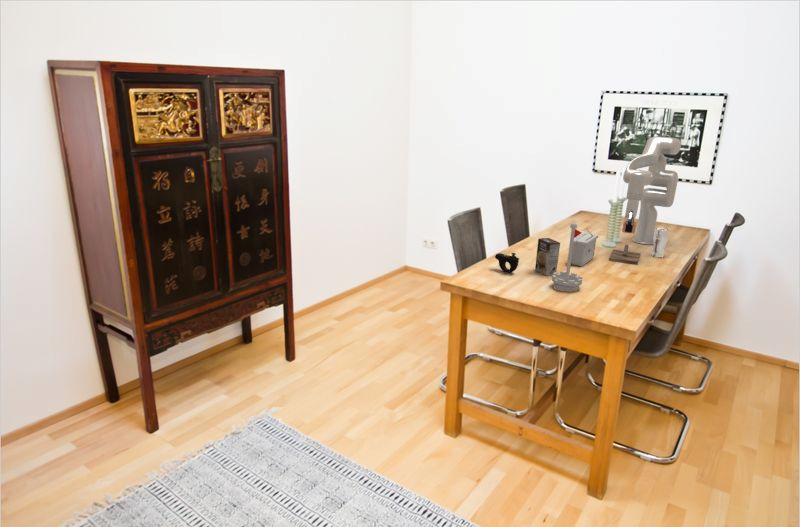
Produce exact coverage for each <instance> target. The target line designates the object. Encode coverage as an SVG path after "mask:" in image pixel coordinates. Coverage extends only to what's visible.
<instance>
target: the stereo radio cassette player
mask: <svg viewBox="0 0 800 527" xmlns="http://www.w3.org/2000/svg"><path fill="white" fill-rule="evenodd" d="M585 230H587V232H586V231H585V232H582V233H581V234H580V235H578V236H577V237H575V238H574V242H573V250H572V258H571V264H572V265H571V266H577V267H578V266H579V267H581V266H582V267H583V266H584V265H586V264H587V263H588V262H590V261H591V260H592V259H594V256H595V250H596V243H597V239H598V238H599V234H597V233H591V232H590V230H589V229H588V228H587V227H585Z"/></svg>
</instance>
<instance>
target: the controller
mask: <svg viewBox="0 0 800 527" xmlns="http://www.w3.org/2000/svg"><path fill="white" fill-rule="evenodd" d="M516 255H517V253H516V252H512V253H511V255H509V254H505V253H501V252H500V253H497V254H495V256H494V258H495V259H496V260H497V261H498V266H499V268H500V270H502V272H504V273H508V274H509V273H513V272H515V271H516V270H517V269H518V266H519V263H520V262H519V260H520V257H517V256H516ZM507 263H508V264H509V268H508V267H507Z"/></svg>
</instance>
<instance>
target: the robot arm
mask: <svg viewBox="0 0 800 527" xmlns="http://www.w3.org/2000/svg"><path fill="white" fill-rule="evenodd" d="M681 145H682V142H681V140H680V139H679V138H675V137H670V136H669V137H668V136H652V137H650V138H648V139H647V140H646V144H645V146H644V149H643V151H642V152H641V155H639V156H637V157H635V158H634V159H632V160H631V161H629V162H628V163H627V166H626V167H625V170H624V171H623V172H624V173H623V176H622V179H623V181H624V183H625V184H628V186H627V192H626V196H625V197H626V198H625V199H626V200H627V204H626V207H625V214H624V215H625V216H624V218H625V219H627V220H626V221H627V224H626V228H625V232H632V227H633V225H632V224H633V222H635V219H636V217H637V214H638V219H637V220H638V221H637V226H636V232H635V233H636V234H635V236H634V237H633V238H632V242H634V243H636V244H641V245H649V246H650V245H653V237H654V232H655V228H656V225H657V219H658V210H657V208H656V207H660V208H661V207H663V208H670V207H672V206H673V204H674V201H675V196H676V192H677V191H676V190H677V186H678V180H679V175H678V173H677V171H675V170H667V169H666V167H667V166H666V165H667V158H666V157H665V155H672V156H676V155H677V154H679V152H680V150H681V147H682V146H681ZM647 167H648V170H642V168H647ZM645 186H652V187H647V188H645ZM653 187H655V188H653ZM656 187H660V188H665V189H660V188H656ZM639 204H640V207H639ZM638 210H639V211H638ZM638 212H639V213H638Z"/></svg>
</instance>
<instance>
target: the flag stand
mask: <svg viewBox="0 0 800 527" xmlns="http://www.w3.org/2000/svg"><path fill="white" fill-rule="evenodd" d="M569 227H570V239H569V247H568V254H567V260H566V261H567V262H566V270H565V271H559V273H558V272H555V273H553V275H551V281H552V282H553V286H554V287H555V288H556V290H557V289H558V291H560V290H562V291H561V292H565V291H569V292H570V293H572V291H575V292H577V290H578V291H579V289H580V285H582V284H583V277H584V276H582V275H577V273H575V272H571V266H572V265H571V258H572V250H573V242H574V238H576V237H578V236H579V235H581V234H582V233H583V232H581V231H580V230H578V229H577V228H578V223H576V222H571V223H570V226H569ZM553 286H552V287H553ZM554 287H553V288H554ZM555 288H554V289H555Z"/></svg>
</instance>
